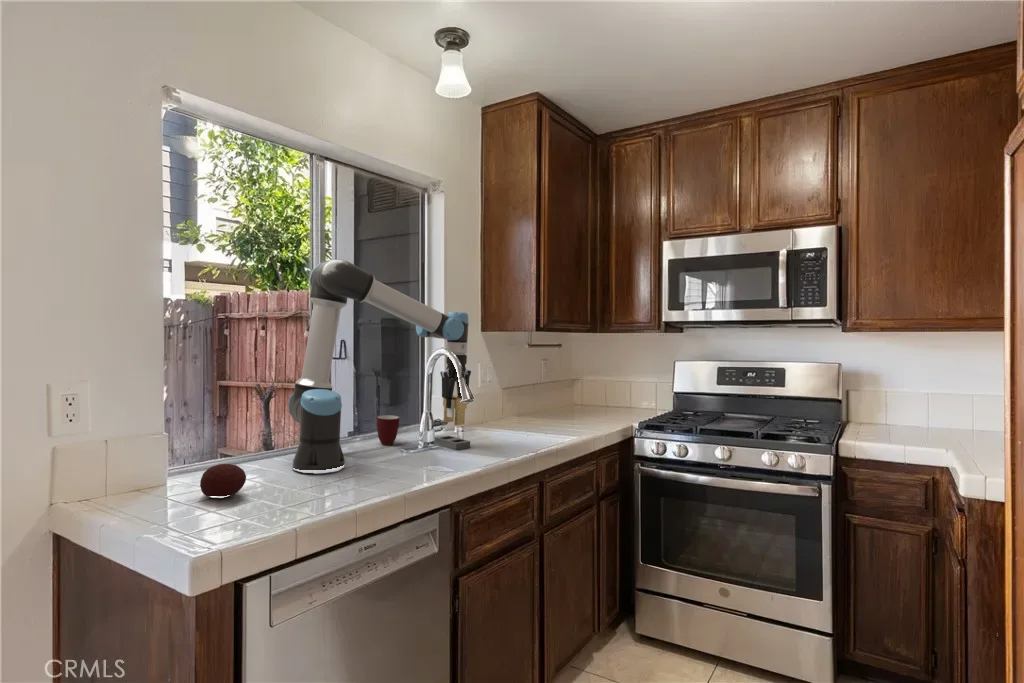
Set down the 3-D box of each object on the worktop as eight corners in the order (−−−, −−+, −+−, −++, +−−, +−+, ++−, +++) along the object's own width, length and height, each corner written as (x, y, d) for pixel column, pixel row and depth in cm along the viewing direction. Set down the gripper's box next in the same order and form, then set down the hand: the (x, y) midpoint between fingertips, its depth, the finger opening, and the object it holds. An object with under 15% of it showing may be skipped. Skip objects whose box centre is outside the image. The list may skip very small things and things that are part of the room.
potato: (213, 488, 153) (214, 457, 152) (255, 491, 153) (256, 460, 152) (187, 502, 141) (188, 469, 141) (232, 505, 141) (234, 471, 141)
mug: (371, 440, 218) (372, 414, 217) (392, 439, 221) (394, 413, 221) (378, 447, 208) (380, 419, 208) (400, 445, 212) (402, 418, 211)
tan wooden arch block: (458, 425, 212) (459, 398, 211) (442, 421, 218) (443, 395, 217) (465, 424, 214) (467, 397, 214) (449, 420, 220) (450, 394, 220)
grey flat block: (455, 450, 210) (456, 443, 209) (434, 444, 218) (434, 437, 217) (470, 447, 215) (470, 441, 215) (448, 441, 223) (448, 435, 223)
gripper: (446, 355, 206) (443, 420, 207) (479, 354, 218) (477, 415, 219) (432, 353, 211) (430, 417, 212) (466, 352, 223) (463, 412, 224)
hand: (454, 416), depth 216 cm, fingers closed on tan wooden arch block, 3 cm apart
